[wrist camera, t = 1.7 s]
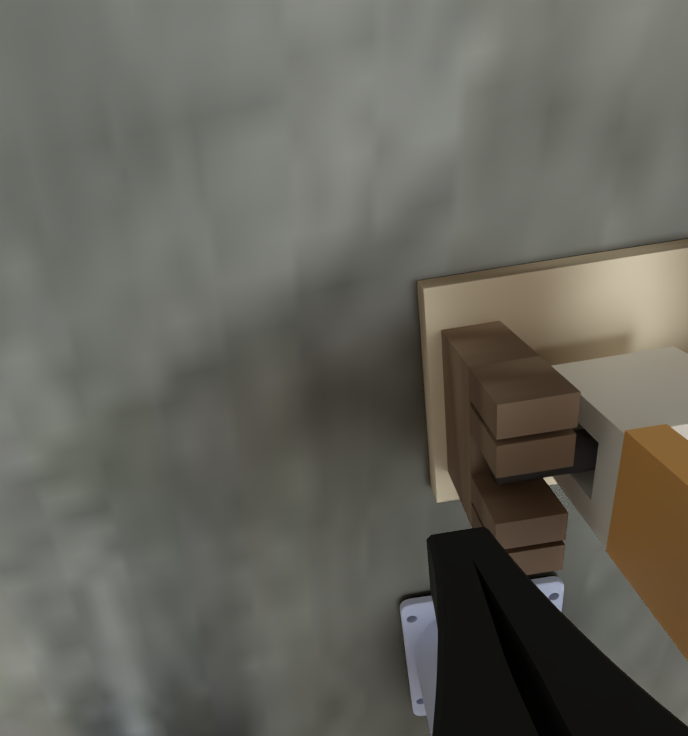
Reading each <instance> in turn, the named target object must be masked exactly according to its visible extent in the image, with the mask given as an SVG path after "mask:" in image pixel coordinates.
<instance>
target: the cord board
mask: <svg viewBox="0 0 688 736" xmlns="http://www.w3.org/2000/svg"><path fill="white" fill-rule="evenodd" d="M417 290H418V304H419V319H420V333H421V348H422V362H423V377H424V391H425V406H426V420H427V435H428V449H429V464H430V478H431V488H432V490H433V493H434V496H435V498H436V501H437V503H439V502H445V501H451V500H458V499H460V501H461V503H462V505H463V508H464V510H465V512H466V514H467V517H468V519H469V521H470V524H471V526H472V528H478V527H486V528H487V529H489V530H490V532H491V533H492V534H493V536H494V537H495V538H496V539H497V541H498V542H499V543H500V544H501V546H502V547H503V548H504V549H505V550H506V552H507V553H508V554H509V555H510V556H511V558H512V559H513V560H514V561H515V562H516V563H517V565H518V566H519V567H520V568H521V569H522V570H523V571H524V573H525V574H526V575H530V574H537V573H543V572H549V571H555V570H562V569H563V559H564V549H565V544H564V543H563V541H562V540H566V530H567V520H568V512H567V511H566V509H565V508H564V506H563V505H562V504H561V502H560V501H559V499H558V498H557V497H556V495H555V494H554V493H553V491H552V490H551V488H550V487H549V486H548V485H553V484H558V483H557V482H556V481H555V479H554V478H553V477H552V476H558V475H564V474H570V473H577V472H583V471H589V470H595V467H596V460H597V452H598V444H599V443H598V442H597V441H596V440H595V439H594V438H593V437H592V436H591V435H590V434H589V433H588V432H587V431H586V430H585V429H579V430H572V429H571V428H576V427H577V424H578V415H579V405H580V395H581V392H580V391H579V390H578V389H577V388H576V387H575V386H574V385H572V384H571V383H570V382H569V381H568V380H567V379H566V378H564V377H563V376H562V375H561V374H560V373H559V372H558V371H557V370H555V369H554V368H553V367H552V365H558V364H565V363H571V362H577V361H584V360H590V359H597V358H603V357H609V356H616V355H622V354H629V353H635V352H641V351H648V350H654V349H661V348H667V347H673V346H674V347H676V348H678V349H680V350H682V351H684V352H686V353H688V239H683V240H676V241H670V242H664V243H657V244H651V245H644V246H638V247H631V248H625V249H619V250H612V251H606V252H599V253H593V254H586V255H580V256H573V257H567V258H561V259H554V260H548V261H541V262H535V263H528V264H522V265H516V266H509V267H503V268H496V269H490V270H483V271H477V272H470V273H464V274H458V275H451V276H445V277H438V278H432V279H425V280H419V281H417Z"/></svg>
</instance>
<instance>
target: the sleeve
mask: <svg viewBox="0 0 688 736" xmlns="http://www.w3.org/2000/svg"><path fill="white" fill-rule="evenodd" d="M552 367H553V368H554V369H555V370H557V371H558V372H559V373H560V374H561V375H562V376H563V377H564V378H566V379H567V380H568V381H569V382H570V383H571V384H572V385H574V386H575V387H576V388H577V389H578V390H579V391H580V392H581V395H580V405H579V415H578V424H577V427H576V428H571V429H572V430H579V429H585V430H586V431H587V432H588V433H589V434H590V435H591V436H592V437H593V438H594V439H595V440H596V441H597V442H598V443H599V444H598V452H597V460H596V467H595V470H589V471H583V472H577V473H570V474H564V475H558V476H552V477H553V478H554V479H555V481H556V482H557V483H558V485H559V486H560V487H561V489H562V490H563V491H564V493H565V494H566V495H567V497H568V498H569V499H570V501H571V502H572V503H573V505H574V506H575V507H576V509H577V510H578V511H579V513H580V514H581V515H582V517H583V518H584V519H585V521H586V522H587V523H588V525H589V526H590V527H591V529H592V530H593V531H594V533H595V534H596V535H597V537H598V538H599V539H600V541H601V542H602V543H603V545H604V546H605V547H606V552H607V553H608V554H609V556H610V557H611V558H612V560H613V561H614V562H615V564H616V565H617V567H618V568H619V569H620V571H621V572H622V573H623V575H624V576H625V577H626V579H627V580H628V581H629V583H630V584H631V585H632V587H633V588H634V589H635V591H636V592H637V593H638V595H639V596H640V597H641V599H642V600H643V601H644V603H645V604H646V605H647V607H648V608H649V609H650V611H651V612H652V614H653V615H654V616H655V618H656V619H657V620H658V622H659V623H660V624H661V626H662V627H663V628H664V630H665V631H666V632H667V634H668V635H669V636H670V638H671V639H672V640H673V642H674V643H675V644H676V646H677V647H678V648H679V650H680V651H681V652H682V654H683V655H684V656H685V658H686V659H687V660H688V353H686V352H684V351H682V350H680V349H678V348H676V347H674V346H673V347H667V348H661V349H654V350H648V351H641V352H635V353H629V354H622V355H616V356H609V357H603V358H597V359H590V360H584V361H577V362H571V363H565V364H558V365H552Z"/></svg>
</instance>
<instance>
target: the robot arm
mask: <svg viewBox="0 0 688 736" xmlns="http://www.w3.org/2000/svg"><path fill="white" fill-rule="evenodd" d="M427 550H428V563H429V576H430V588H431V595H430V596H424V597H417V598H411V599H407V600H404V601H403V602H402V603H401V604H400V615H401V623H402V631H403V639H404V647H405V655H406V662H407V670H408V678H409V686H410V694H411V702H412V709H413V713H414V714H415V715H417V716H425V715H426V716H427V720H428V725H429V730H430V735H431V736H688V726H686V725H685V724H684V723H683V722H682V721H680V720H679V719H678V718H677V717H676V716H674V715H673V714H672V713H671V712H670V711H668V710H667V709H666V708H665V707H663V706H662V705H661V704H660V703H659V702H657V701H656V700H655V699H654V698H653V697H652V696H650V695H649V694H648V693H647V692H646V691H645V690H644V689H642V688H641V687H640V686H639V685H638V684H637V683H635V682H634V681H633V680H632V679H631V678H630V677H629V676H627V675H626V674H625V673H624V672H623V671H622V670H621V669H620V668H619V667H617V666H616V665H615V664H614V663H613V662H612V661H611V660H610V659H609V658H608V657H607V656H606V655H605V654H603V653H602V652H601V651H600V650H599V649H598V648H597V647H596V646H595V645H594V644H593V643H592V642H591V641H590V640H589V639H588V638H587V637H586V636H585V635H584V634H583V633H582V632H581V631H579V630H578V629H577V628H576V627H575V626H574V624H573V623H572V622H571V621H570V620H569V619H568V618H567V617H566V616H565V615H564V614H563V613H562V603H563V594H564V584H563V582H562V581H561V579H560V578H559V577H556V576H550V577H543V578H537V579H530V578H529V577H528V576H527V575H526V574H525V573H524V571H523V570H522V569H521V568H520V567H519V566H518V565H517V563H516V562H515V561H514V560H513V559H512V558H511V556H510V555H509V554H508V553H507V552H506V550H505V549H504V548H503V547H502V546H501V544H500V543H499V542H498V541H497V539H496V538H495V537H494V536H493V534H492V533H491V532H490V530H489V529H487V528H486V527H478V528H472V529H466V530H459V531H453V532H447V533H440V534H434V535H431V536H430V537H429V538H428V539H427Z"/></svg>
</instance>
